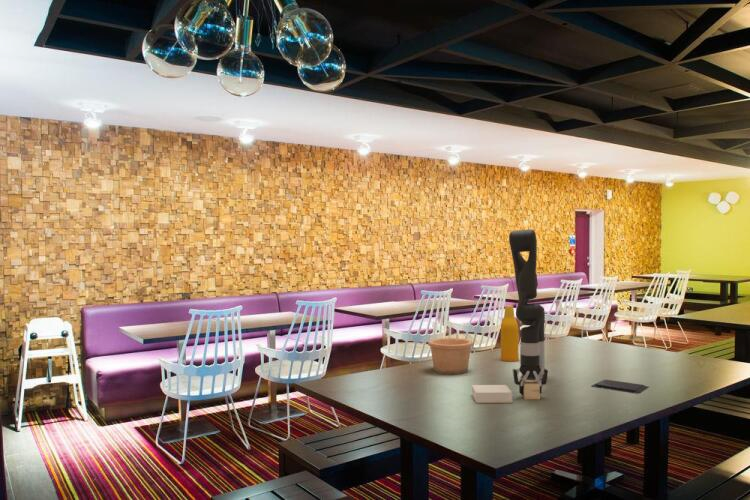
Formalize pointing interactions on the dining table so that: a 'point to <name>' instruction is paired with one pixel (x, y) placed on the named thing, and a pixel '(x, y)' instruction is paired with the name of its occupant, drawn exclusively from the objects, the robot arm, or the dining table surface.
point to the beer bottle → (509, 336)
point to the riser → (491, 394)
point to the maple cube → (531, 390)
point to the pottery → (450, 355)
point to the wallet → (621, 386)
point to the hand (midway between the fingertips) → (530, 394)
